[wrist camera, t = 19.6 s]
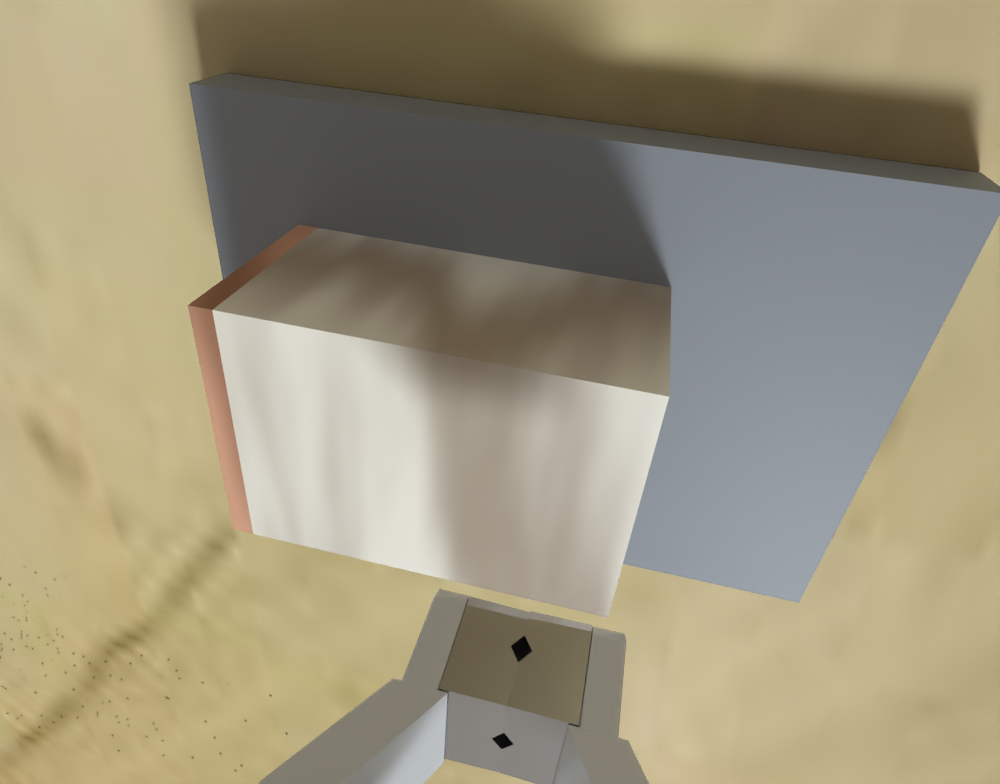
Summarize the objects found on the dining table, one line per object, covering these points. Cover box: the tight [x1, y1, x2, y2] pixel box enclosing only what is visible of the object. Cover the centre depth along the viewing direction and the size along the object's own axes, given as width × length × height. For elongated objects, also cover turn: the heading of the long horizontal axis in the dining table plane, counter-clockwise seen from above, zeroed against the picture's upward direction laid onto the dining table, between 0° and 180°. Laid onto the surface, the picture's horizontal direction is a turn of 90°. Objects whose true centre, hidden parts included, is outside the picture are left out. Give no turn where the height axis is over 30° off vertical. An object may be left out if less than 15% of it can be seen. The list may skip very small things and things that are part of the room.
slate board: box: [189, 73, 1000, 603], centre depth 18 cm, size 17×12×2 cm
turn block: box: [188, 225, 671, 618], centre depth 15 cm, size 4×6×9 cm
